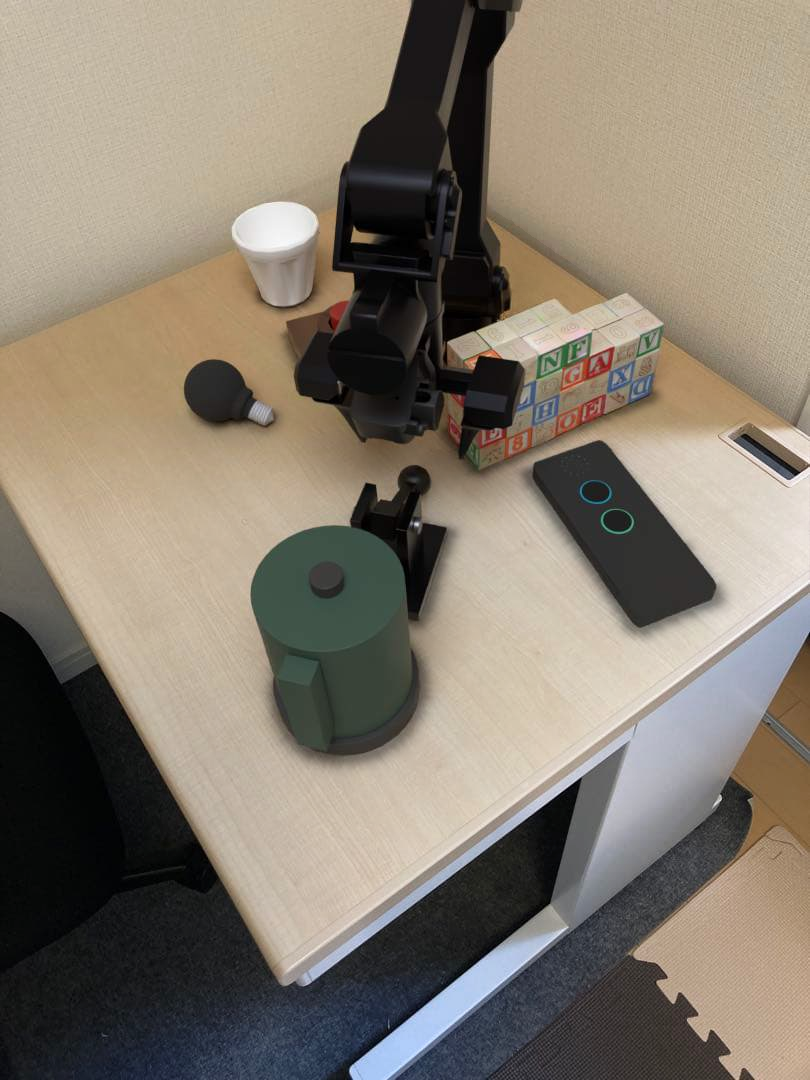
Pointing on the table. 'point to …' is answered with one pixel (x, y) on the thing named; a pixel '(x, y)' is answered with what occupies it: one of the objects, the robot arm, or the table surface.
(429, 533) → the switch bracket
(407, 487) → the switch lever
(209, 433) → the table surface
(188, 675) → the table surface
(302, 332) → the socket block
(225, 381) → the light bulb
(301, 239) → the cup
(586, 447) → the smart home device
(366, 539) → the kettle
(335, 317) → the power button
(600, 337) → the stack of blocks
